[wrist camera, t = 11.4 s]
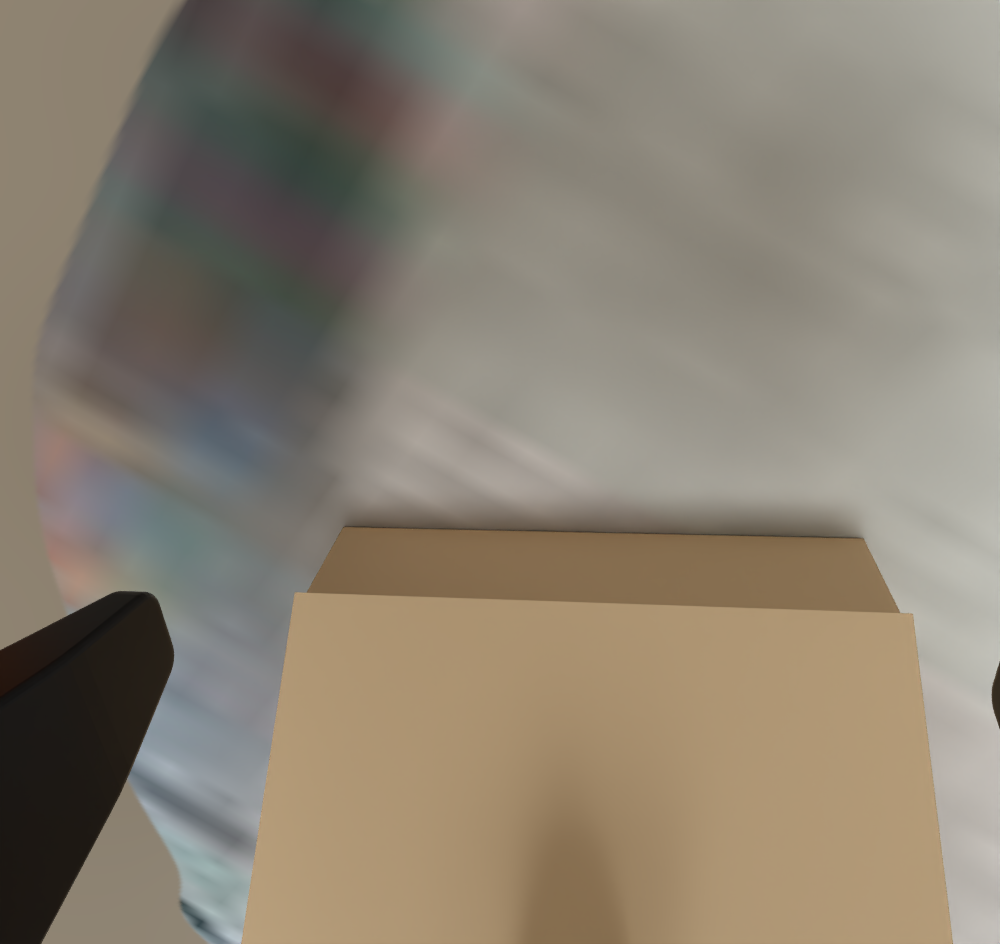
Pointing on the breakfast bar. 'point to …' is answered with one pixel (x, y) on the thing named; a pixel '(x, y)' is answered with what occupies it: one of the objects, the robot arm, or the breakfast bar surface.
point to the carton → (607, 568)
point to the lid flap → (596, 777)
